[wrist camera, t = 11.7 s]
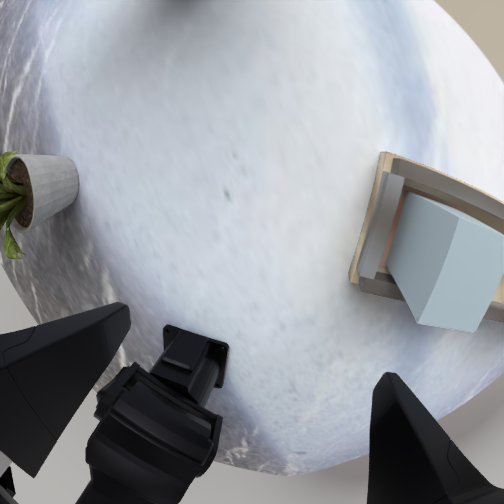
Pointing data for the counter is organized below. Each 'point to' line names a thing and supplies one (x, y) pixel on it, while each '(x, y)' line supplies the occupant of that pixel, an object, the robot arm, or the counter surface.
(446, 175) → the rail plate
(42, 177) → the house plant
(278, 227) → the counter surface
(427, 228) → the block
